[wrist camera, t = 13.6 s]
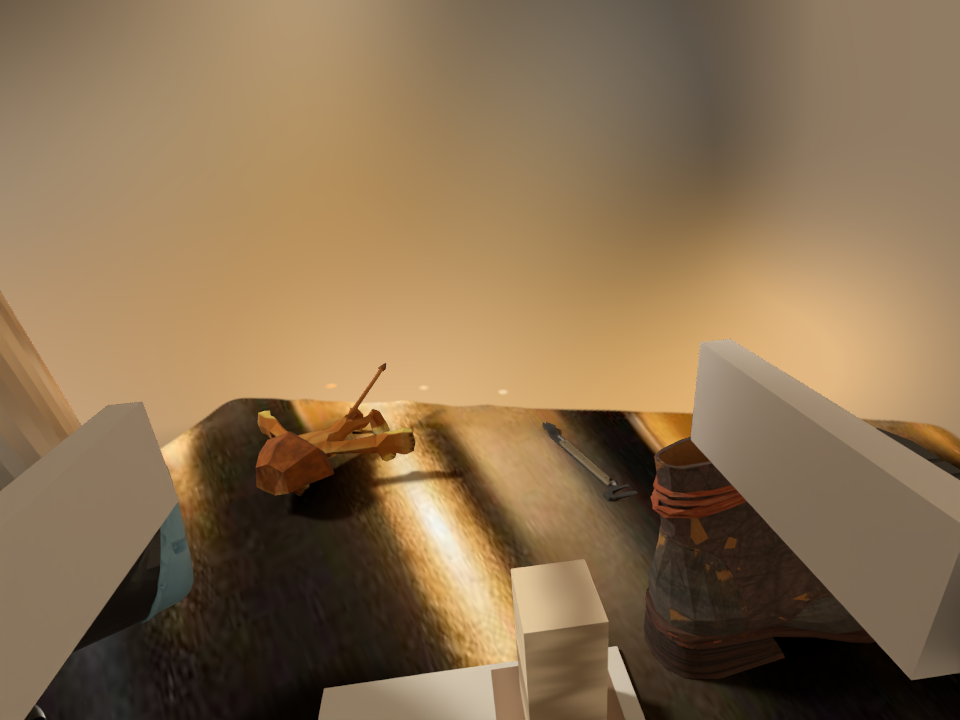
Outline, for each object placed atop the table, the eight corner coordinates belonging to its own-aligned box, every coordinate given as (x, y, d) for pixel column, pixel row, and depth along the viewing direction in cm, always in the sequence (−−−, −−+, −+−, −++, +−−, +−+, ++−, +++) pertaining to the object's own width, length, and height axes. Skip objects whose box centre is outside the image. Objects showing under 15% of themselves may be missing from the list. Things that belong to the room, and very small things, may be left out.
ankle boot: (977, 601, 47) (1050, 410, 40) (699, 723, 40) (724, 514, 32) (858, 525, 58) (898, 361, 50) (618, 610, 50) (623, 431, 42)
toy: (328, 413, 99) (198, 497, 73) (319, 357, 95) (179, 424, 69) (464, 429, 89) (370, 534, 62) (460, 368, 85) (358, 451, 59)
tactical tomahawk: (652, 495, 67) (654, 488, 66) (609, 506, 65) (610, 498, 64) (573, 423, 85) (573, 417, 85) (537, 429, 83) (537, 423, 83)
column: (532, 764, 34) (523, 633, 29) (520, 691, 38) (510, 569, 34) (606, 752, 34) (608, 621, 30) (585, 682, 39) (584, 558, 34)
